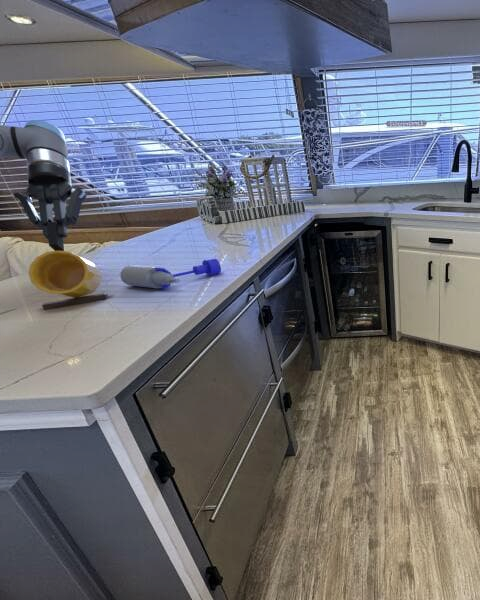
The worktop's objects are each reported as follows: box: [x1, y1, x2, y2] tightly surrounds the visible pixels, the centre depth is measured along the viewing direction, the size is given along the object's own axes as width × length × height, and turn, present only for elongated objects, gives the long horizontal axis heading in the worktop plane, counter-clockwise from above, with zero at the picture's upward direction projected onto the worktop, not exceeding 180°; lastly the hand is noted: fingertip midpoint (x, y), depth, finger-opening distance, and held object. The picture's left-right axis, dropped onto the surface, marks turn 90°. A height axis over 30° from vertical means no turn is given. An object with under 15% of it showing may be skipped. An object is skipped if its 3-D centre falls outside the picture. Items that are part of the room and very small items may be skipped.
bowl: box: [28, 250, 103, 299], centre depth 78 cm, size 10×10×8 cm
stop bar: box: [41, 292, 109, 310], centre depth 80 cm, size 12×2×1 cm, turn 119°
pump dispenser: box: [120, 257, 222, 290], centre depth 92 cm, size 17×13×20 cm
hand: (56, 248), depth 75 cm, fingers closed
